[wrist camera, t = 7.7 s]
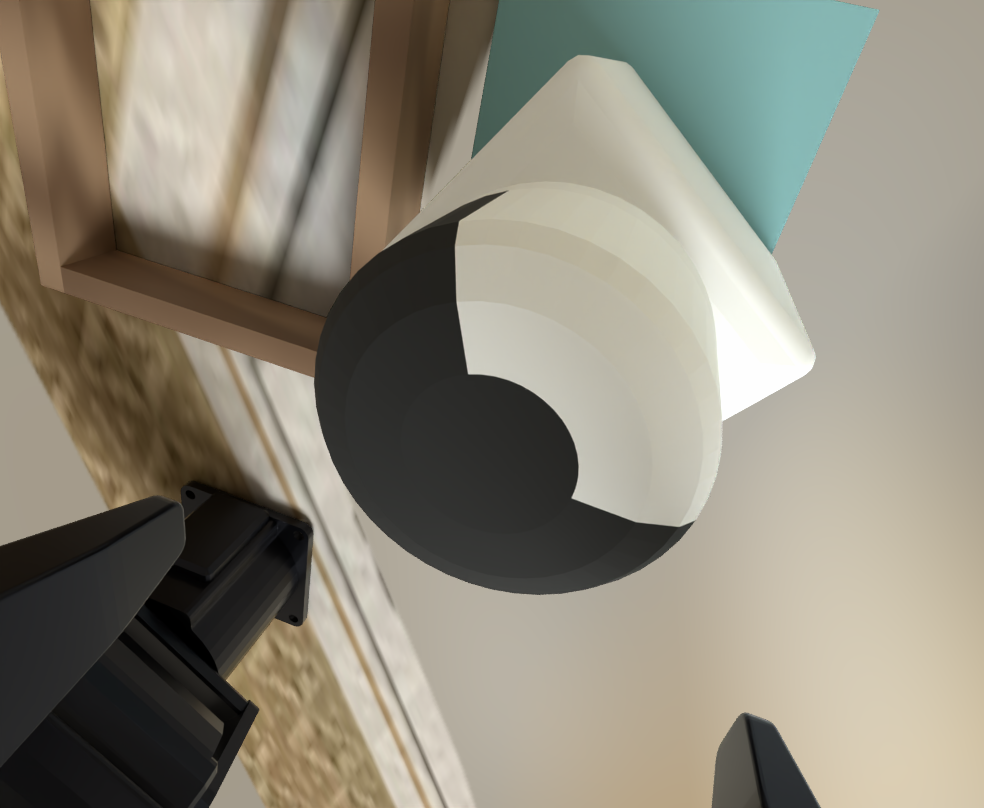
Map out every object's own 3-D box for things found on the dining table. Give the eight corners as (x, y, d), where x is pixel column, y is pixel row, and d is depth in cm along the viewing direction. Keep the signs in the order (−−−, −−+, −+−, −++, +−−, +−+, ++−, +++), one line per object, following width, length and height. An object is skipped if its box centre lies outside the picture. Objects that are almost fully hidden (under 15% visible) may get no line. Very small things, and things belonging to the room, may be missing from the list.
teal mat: (671, 475, 22) (671, 481, 22) (432, 395, 23) (428, 400, 23) (875, 11, 15) (879, 9, 14) (515, -66, 16) (511, -69, 16)
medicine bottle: (583, 398, 21) (476, 703, 11) (441, 232, 20) (170, 398, 10) (782, 267, 18) (902, 537, 7) (624, 54, 16) (502, 20, 6)
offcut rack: (397, 366, 23) (367, 395, 21) (97, 267, 25) (41, 285, 23) (512, -443, 13) (477, -542, 11) (0, -505, 15) (-114, -600, 13)
